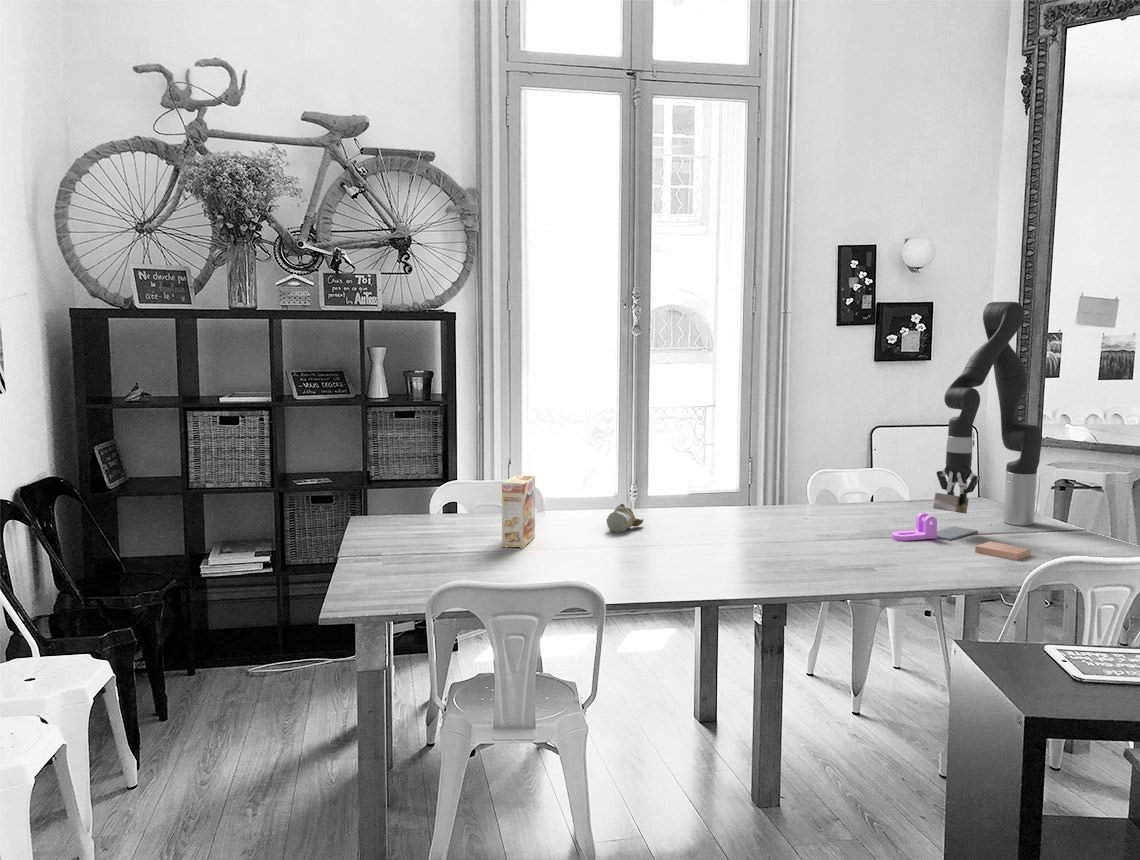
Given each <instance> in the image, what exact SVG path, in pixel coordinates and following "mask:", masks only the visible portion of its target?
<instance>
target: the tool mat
mask: <svg viewBox="0 0 1140 860" xmlns="http://www.w3.org/2000/svg"><path fill="white" fill-rule="evenodd" d="M978 532H979V529H978V530H977V529H971V528H966V527H959V526H955V525H954V526H951V527H946V528H942V529H939V530H937V538H936V539H939V540H943V541H944V540H945V541H949V542H950V541H954V540H956V539H960V538H963V537H966V536H970V535H974V534H978Z"/></svg>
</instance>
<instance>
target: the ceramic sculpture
mask: <svg viewBox="0 0 1140 860" xmlns="http://www.w3.org/2000/svg"><path fill="white" fill-rule="evenodd" d="M607 516H608V517H607V518H606V525H607V528H608V530H610V531H611V532H613V531H614V532H615V533H616V532H619V533H624V532H625V531H626V530H627V528H628V529H629V528H631V527H634V528H635V527H639V526H640V525H642V524H643V522H644V519H640V518H636V516H635V513H634V511H633V510H632V508H630V507H628V506H626V505H625V504H624V503H621V504H619V505H617V507H616V508H614V510H613V512H611V513H610V514H609V515H607Z"/></svg>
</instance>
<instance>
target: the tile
mask: <svg viewBox="0 0 1140 860" xmlns="http://www.w3.org/2000/svg"><path fill="white" fill-rule="evenodd" d="M974 549H975V551H974V552H975V553H977V554H980V555H981V554H982V555H987V556H991V557H997V558H1003V559H1009V560H1012V561H1019V560H1021V559H1024V558H1025V559H1026V558H1027V557H1029V556H1031V554H1032V548H1029V547H1024V546H1023V547H1022V546H1018V545H1017V546H1016V545H1011V544H1006V543H1001V542H995V541H987V542H984V543H981V544H977V545H975V546H974Z"/></svg>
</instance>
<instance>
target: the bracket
mask: <svg viewBox="0 0 1140 860" xmlns="http://www.w3.org/2000/svg"><path fill="white" fill-rule="evenodd" d="M915 520H916V521H915V522H916V525H915V530H913V529H912V530H902V531H894V532H893V531H892V533H891V539H892V540H895V541H899V542H900V541H902V542H907V541H916V540H930V539H938V538H937V531H938V520H937V518H936V517H935V516H933V515H929V514H928V513H926V512H919V513H918V514H917V516H916V519H915ZM930 521H931V522H930Z"/></svg>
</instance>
